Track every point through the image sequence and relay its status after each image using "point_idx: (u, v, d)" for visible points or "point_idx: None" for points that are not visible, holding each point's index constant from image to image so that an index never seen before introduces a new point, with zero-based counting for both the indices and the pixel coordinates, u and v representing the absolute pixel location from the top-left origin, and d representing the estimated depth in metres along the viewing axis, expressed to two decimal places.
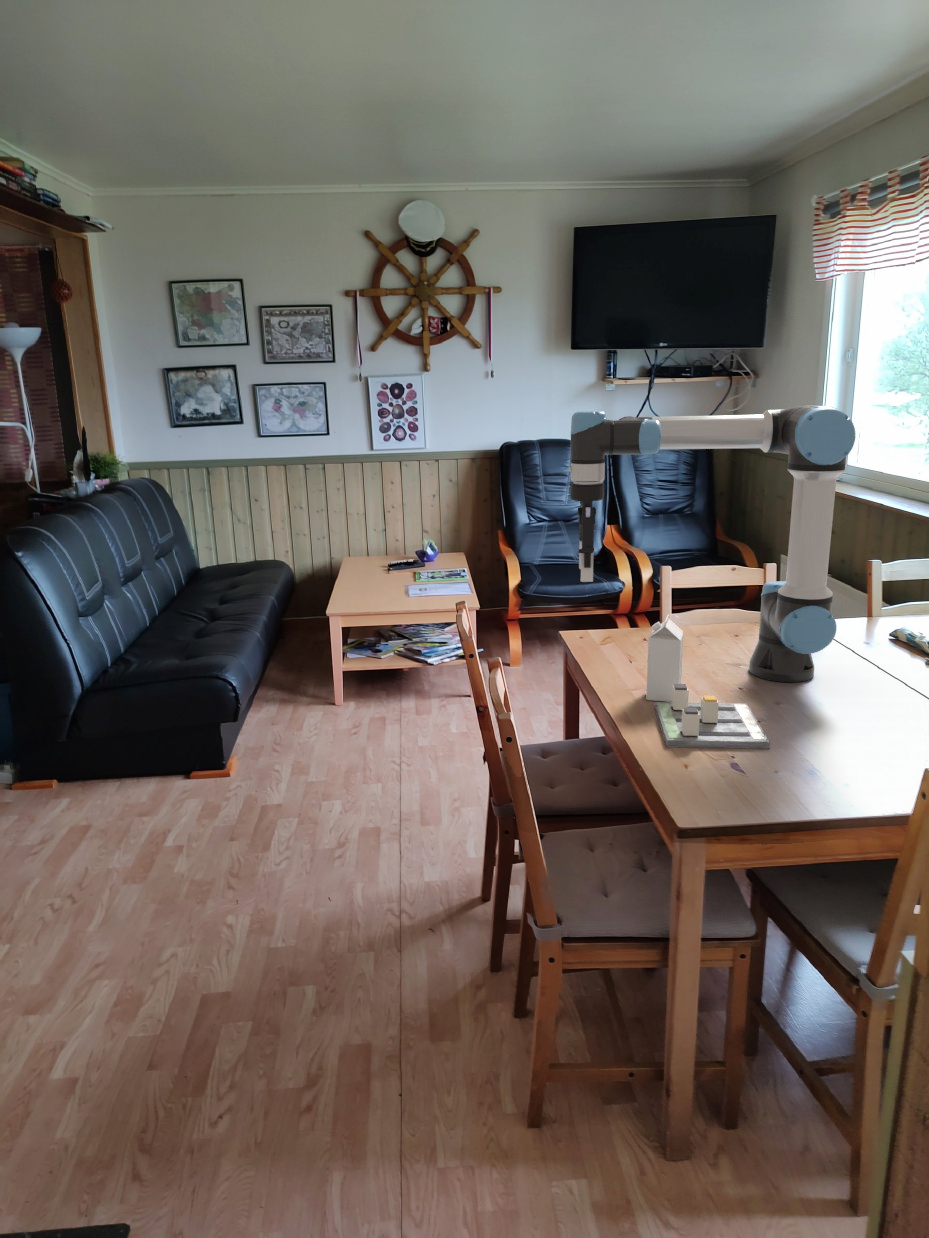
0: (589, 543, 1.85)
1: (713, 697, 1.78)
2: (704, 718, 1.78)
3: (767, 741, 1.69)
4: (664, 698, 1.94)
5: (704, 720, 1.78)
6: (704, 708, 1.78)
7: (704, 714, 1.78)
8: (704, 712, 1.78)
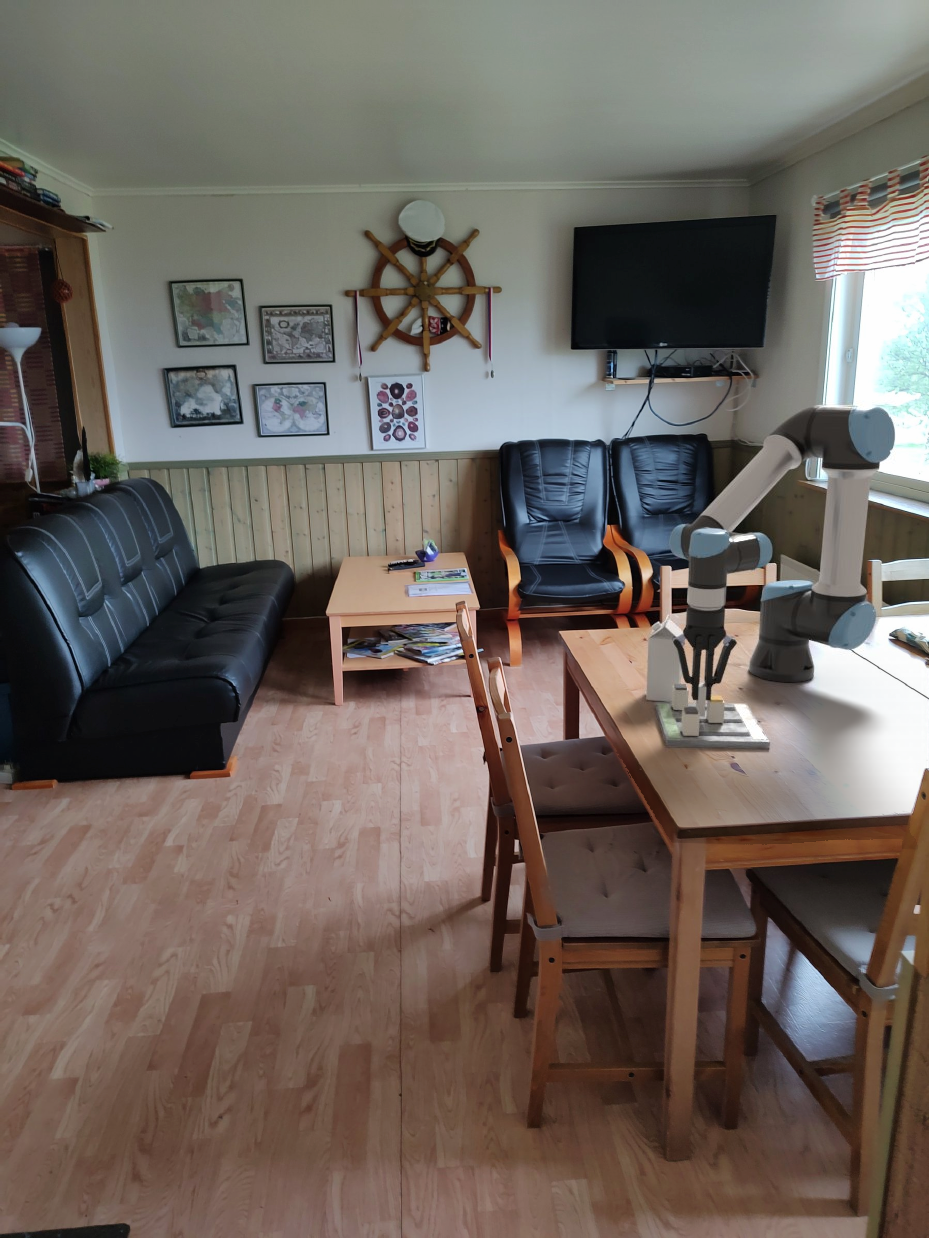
0: (683, 675, 1.77)
1: (719, 697, 1.78)
2: (710, 718, 1.78)
3: (767, 741, 1.69)
4: (664, 698, 1.94)
5: (710, 720, 1.78)
6: (710, 708, 1.77)
7: (710, 714, 1.78)
8: (710, 712, 1.78)
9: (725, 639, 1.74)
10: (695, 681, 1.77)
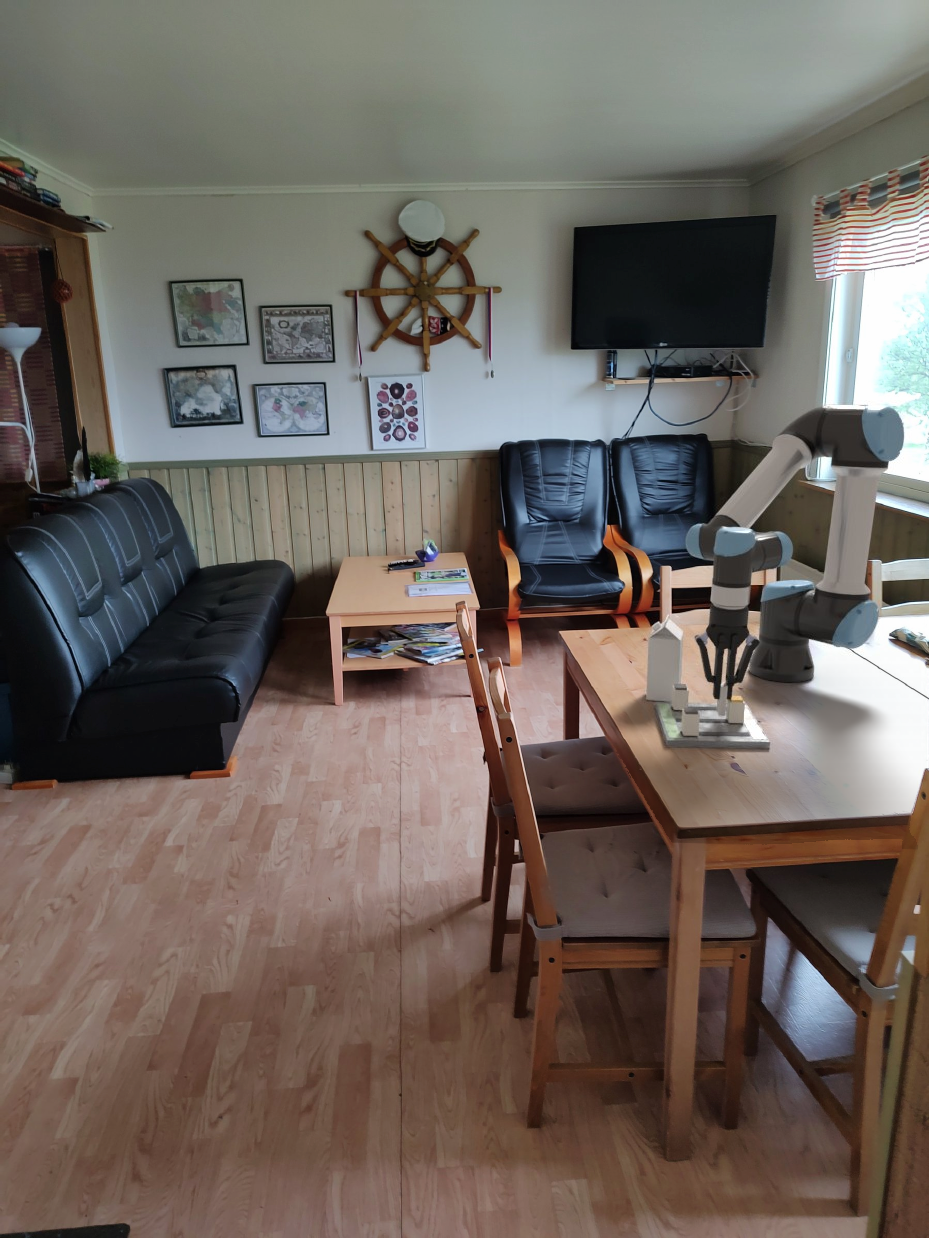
0: (705, 673, 1.77)
1: (739, 697, 1.78)
2: (730, 718, 1.78)
3: (767, 741, 1.69)
4: (664, 698, 1.94)
5: (730, 720, 1.78)
6: (730, 708, 1.77)
7: (730, 714, 1.77)
8: (730, 712, 1.77)
9: (748, 638, 1.74)
10: (717, 680, 1.76)
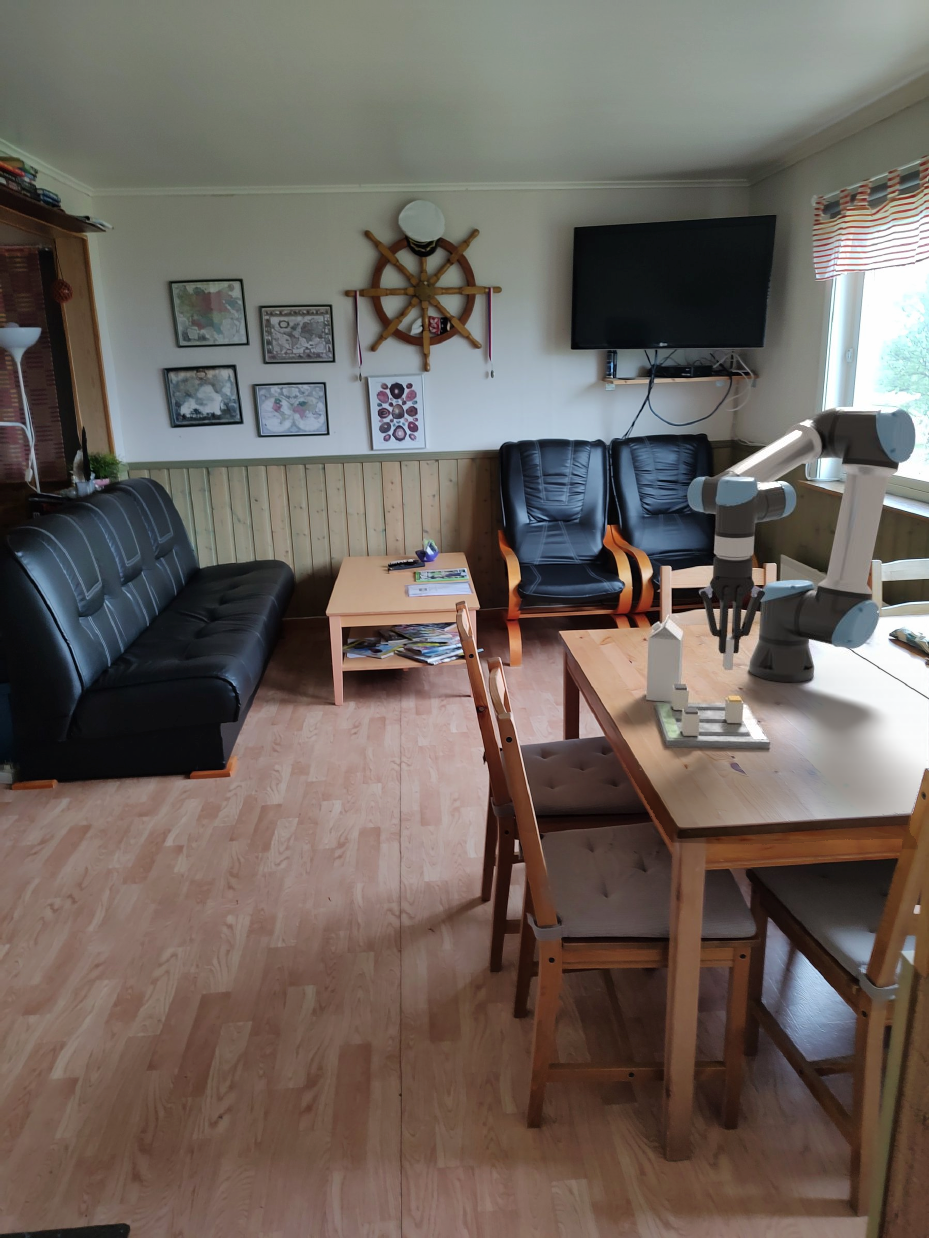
0: (710, 627, 1.74)
1: (738, 697, 1.78)
2: (729, 718, 1.78)
3: (767, 741, 1.69)
4: (664, 698, 1.94)
5: (729, 720, 1.78)
6: (729, 708, 1.77)
7: (729, 714, 1.77)
8: (729, 712, 1.77)
9: (753, 590, 1.71)
10: (723, 634, 1.73)
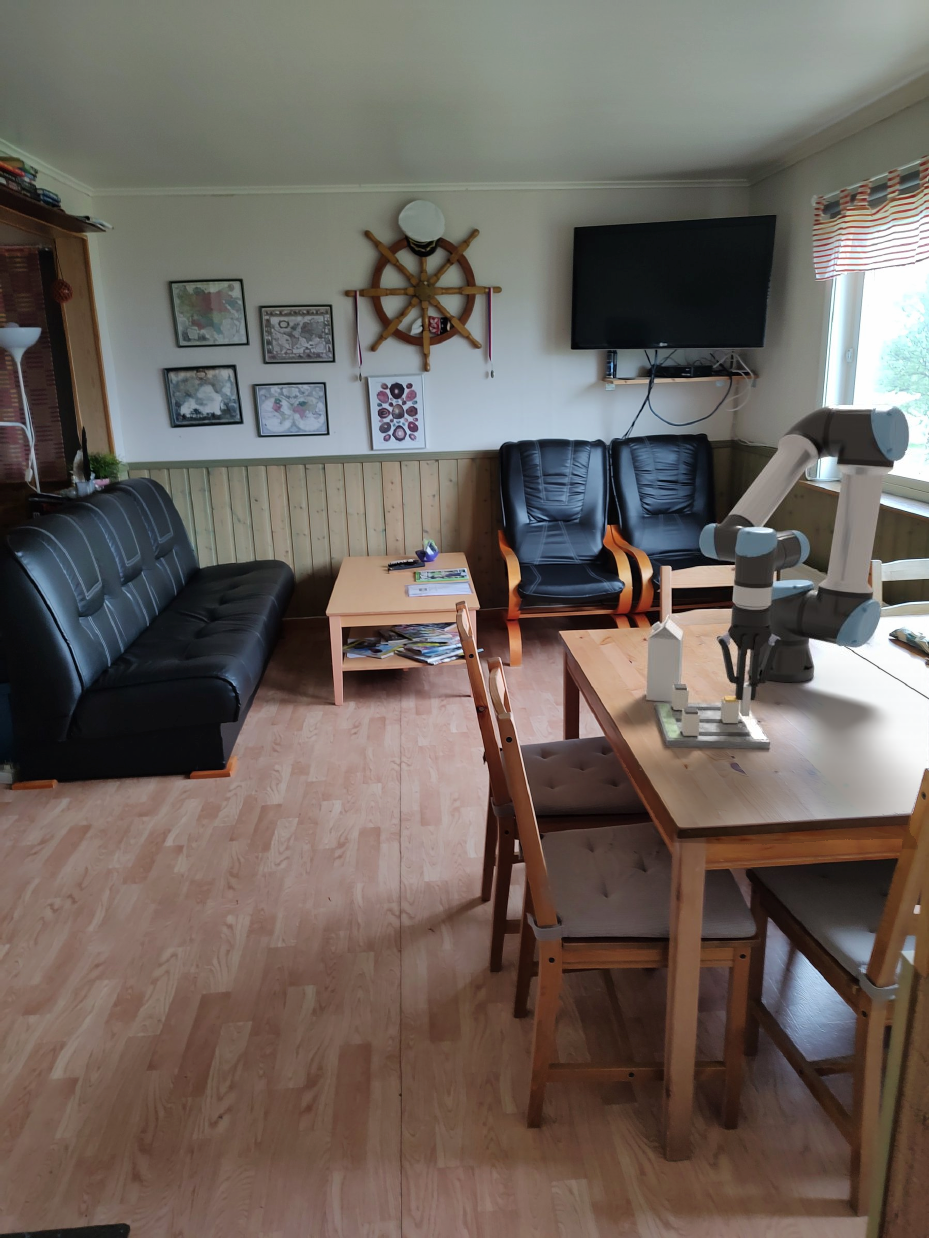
0: (727, 674, 1.76)
1: (734, 697, 1.78)
2: (725, 718, 1.78)
3: (767, 741, 1.69)
4: (664, 698, 1.94)
5: (725, 720, 1.78)
6: (725, 708, 1.77)
7: (725, 714, 1.77)
8: (725, 712, 1.77)
9: (771, 638, 1.73)
10: (740, 681, 1.75)
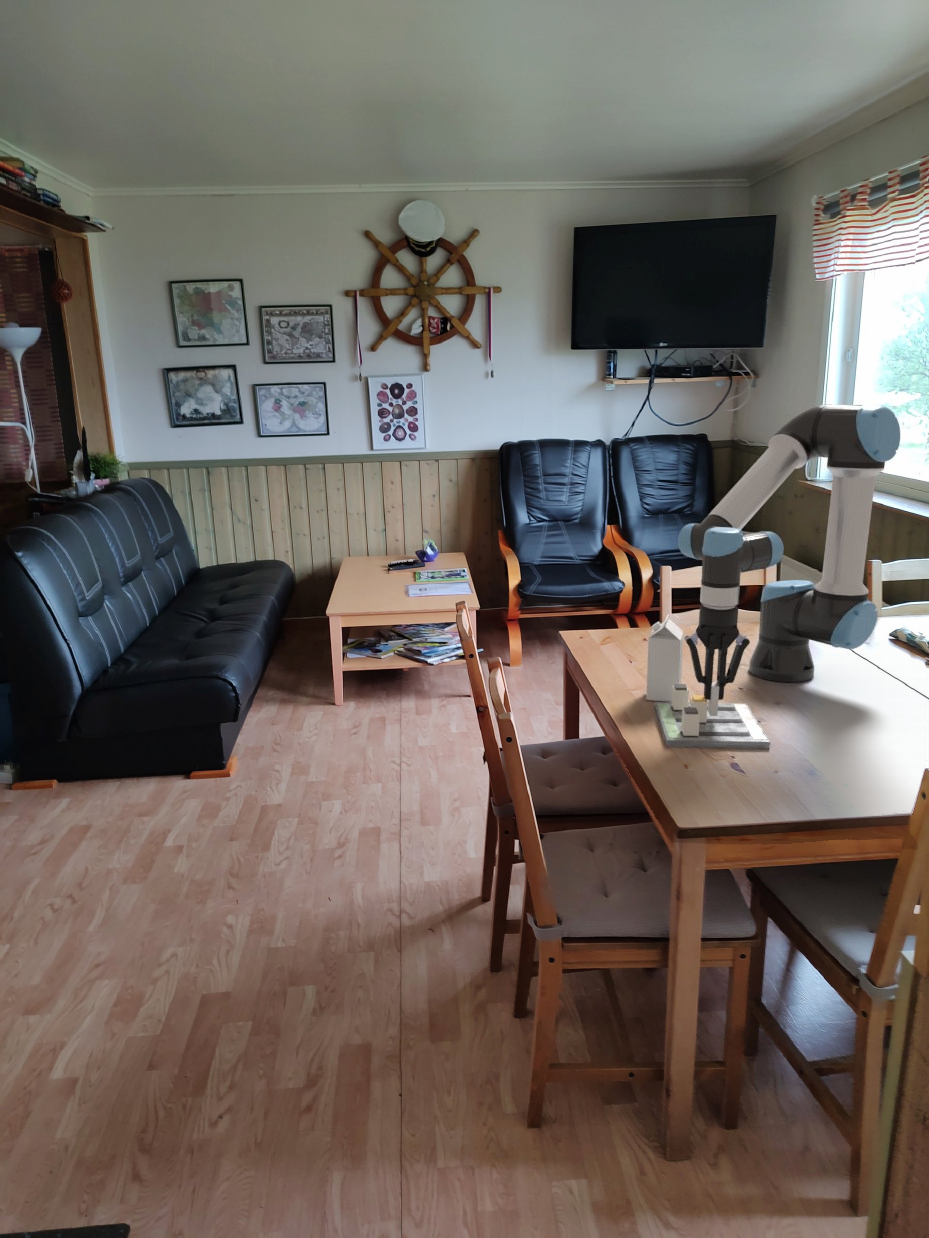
0: (695, 674, 1.77)
1: (702, 697, 1.79)
2: None
3: (767, 741, 1.69)
4: (664, 698, 1.94)
5: None
6: None
7: None
8: None
9: (738, 638, 1.74)
10: (708, 680, 1.76)
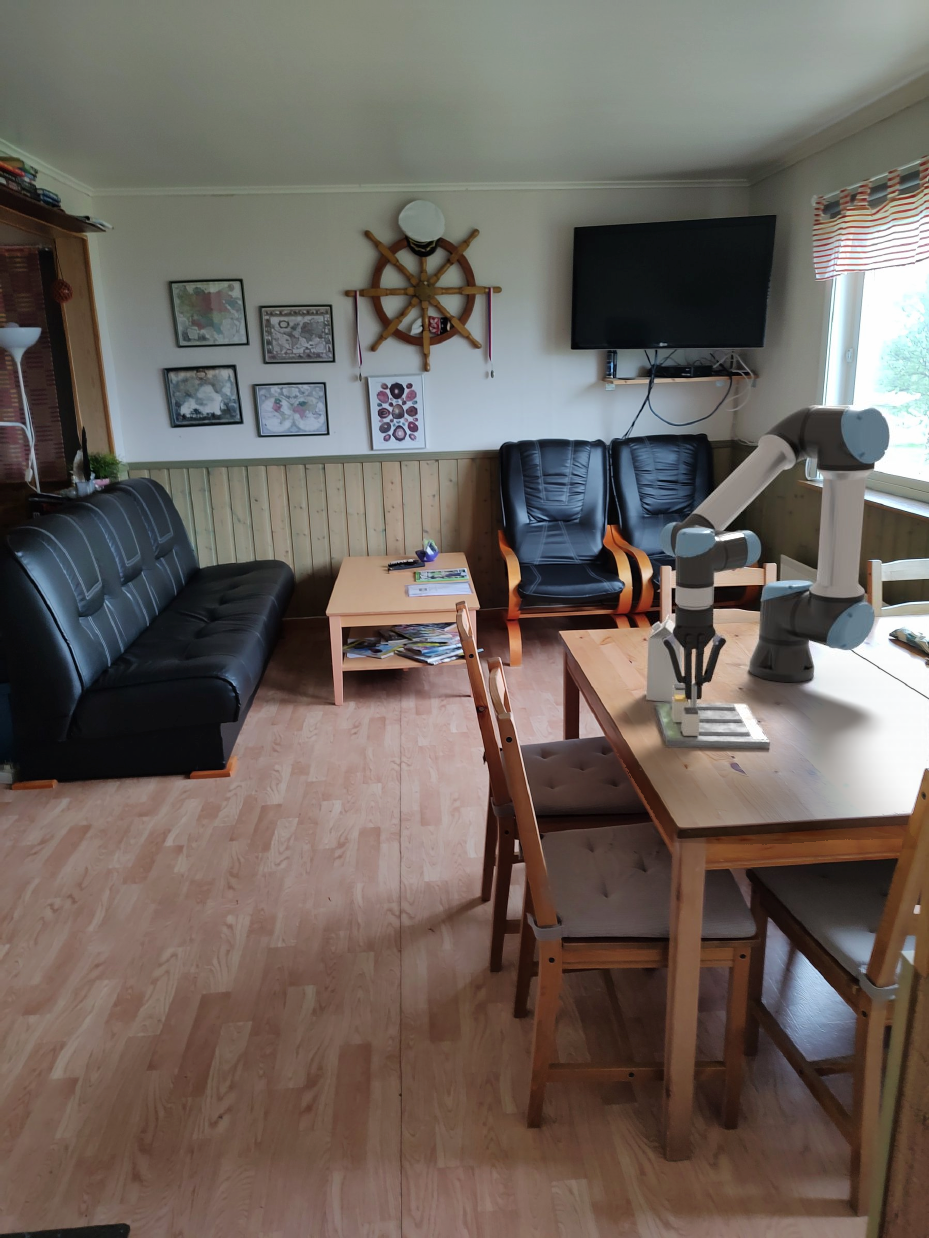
0: (675, 675, 1.77)
1: (684, 697, 1.79)
2: (675, 718, 1.79)
3: (767, 741, 1.69)
4: (664, 698, 1.94)
5: (675, 720, 1.79)
6: (674, 708, 1.78)
7: (674, 714, 1.78)
8: (674, 712, 1.78)
9: (715, 638, 1.74)
10: (687, 681, 1.76)
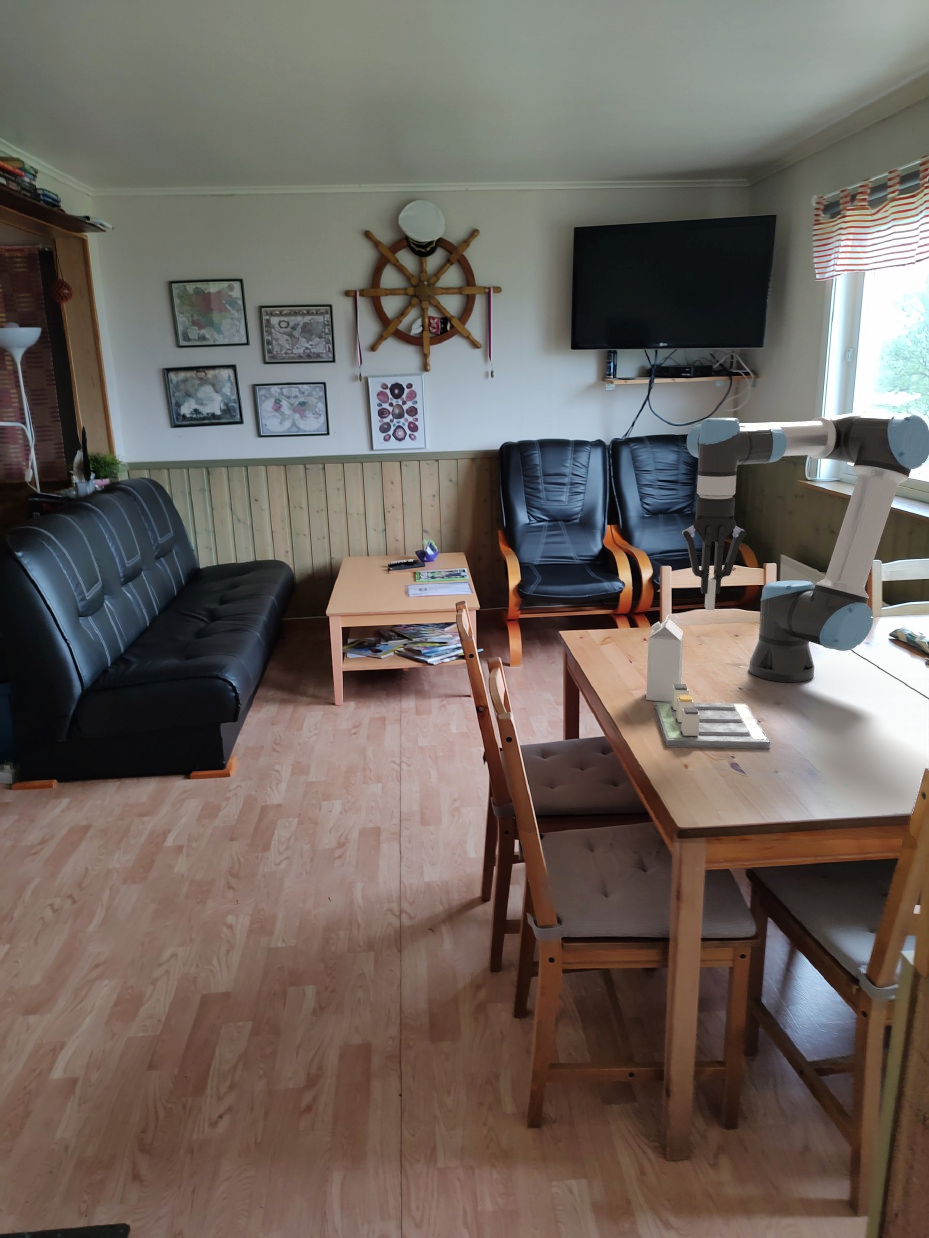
0: (692, 568, 1.77)
1: (688, 697, 1.79)
2: (679, 718, 1.79)
3: (767, 741, 1.69)
4: (664, 698, 1.94)
5: (679, 720, 1.79)
6: (679, 708, 1.78)
7: (679, 714, 1.78)
8: (679, 712, 1.78)
9: (735, 530, 1.74)
10: (705, 574, 1.76)
